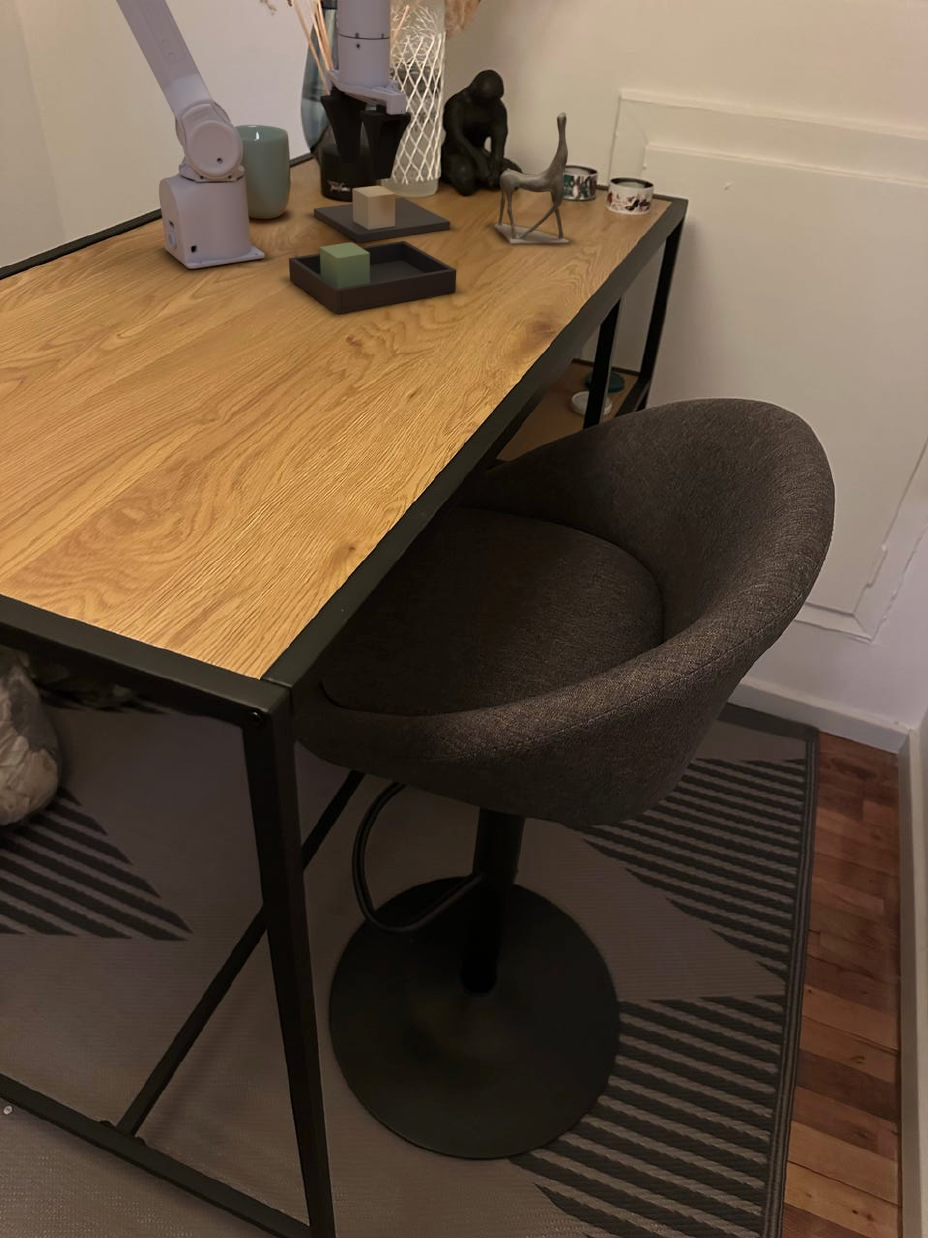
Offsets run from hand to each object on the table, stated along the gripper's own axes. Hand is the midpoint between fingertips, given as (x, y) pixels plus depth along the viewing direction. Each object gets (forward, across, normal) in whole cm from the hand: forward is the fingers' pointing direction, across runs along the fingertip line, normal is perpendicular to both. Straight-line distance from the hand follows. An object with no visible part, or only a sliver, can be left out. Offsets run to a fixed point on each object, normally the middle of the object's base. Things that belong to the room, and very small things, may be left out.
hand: (365, 170), depth 107 cm
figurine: (+9, -6, -21) cm, 23 cm away
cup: (+9, +17, +6) cm, 20 cm away
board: (+9, +8, -7) cm, 14 cm away
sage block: (+8, -12, +10) cm, 18 cm away
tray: (+9, -12, +6) cm, 16 cm away
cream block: (+8, +5, -4) cm, 10 cm away
